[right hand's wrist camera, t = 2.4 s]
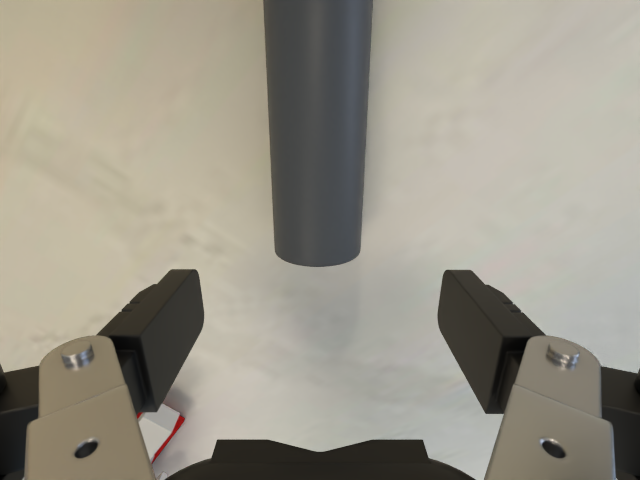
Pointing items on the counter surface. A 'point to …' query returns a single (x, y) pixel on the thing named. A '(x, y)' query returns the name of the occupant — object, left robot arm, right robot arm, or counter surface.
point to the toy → (158, 430)
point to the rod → (317, 125)
